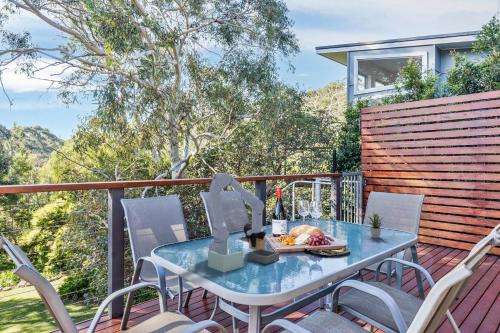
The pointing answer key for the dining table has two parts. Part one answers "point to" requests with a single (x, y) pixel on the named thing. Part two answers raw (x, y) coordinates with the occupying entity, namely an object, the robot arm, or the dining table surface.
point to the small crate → (258, 244)
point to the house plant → (375, 226)
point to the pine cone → (247, 228)
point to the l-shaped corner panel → (225, 261)
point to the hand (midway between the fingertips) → (256, 246)
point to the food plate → (332, 251)
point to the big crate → (263, 256)
